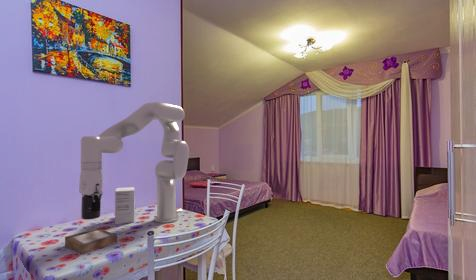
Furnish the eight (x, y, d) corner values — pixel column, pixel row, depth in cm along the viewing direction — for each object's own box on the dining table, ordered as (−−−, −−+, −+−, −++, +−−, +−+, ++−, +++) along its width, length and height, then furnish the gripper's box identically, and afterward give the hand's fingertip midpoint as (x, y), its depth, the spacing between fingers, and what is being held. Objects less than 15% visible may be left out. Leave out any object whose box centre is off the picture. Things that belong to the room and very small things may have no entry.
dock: (100, 235, 116) (100, 227, 116) (117, 242, 108) (117, 233, 108) (65, 245, 104) (65, 236, 104) (81, 254, 96) (81, 245, 96)
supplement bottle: (92, 220, 102) (92, 190, 102) (77, 219, 103) (77, 189, 103) (104, 215, 108) (104, 186, 108) (90, 214, 110) (90, 186, 110)
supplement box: (116, 219, 139) (116, 187, 139) (134, 217, 142) (134, 186, 142) (114, 224, 130) (114, 191, 130) (134, 222, 133) (134, 189, 133)
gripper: (71, 165, 108) (71, 208, 108) (92, 168, 98) (92, 215, 98) (90, 164, 114) (90, 204, 114) (111, 166, 104) (111, 211, 104)
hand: (91, 209), depth 106 cm, fingers closed on supplement bottle, 6 cm apart
